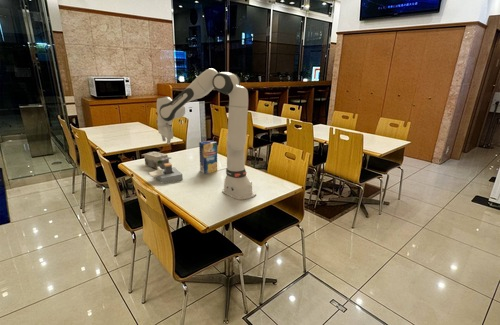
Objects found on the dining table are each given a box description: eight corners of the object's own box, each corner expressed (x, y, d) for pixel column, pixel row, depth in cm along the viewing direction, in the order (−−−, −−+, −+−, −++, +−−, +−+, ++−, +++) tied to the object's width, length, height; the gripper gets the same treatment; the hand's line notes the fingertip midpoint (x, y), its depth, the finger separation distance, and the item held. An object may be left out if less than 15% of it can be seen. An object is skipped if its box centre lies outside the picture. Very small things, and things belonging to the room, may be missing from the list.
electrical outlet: (161, 172, 201) (159, 158, 199) (140, 165, 219) (139, 153, 216) (175, 168, 210) (173, 155, 207) (154, 162, 228) (152, 150, 225)
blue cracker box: (217, 170, 209) (217, 142, 202) (204, 173, 202) (203, 144, 195) (212, 168, 214) (212, 140, 207) (199, 170, 208) (199, 142, 201)
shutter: (162, 174, 186) (162, 169, 185) (151, 176, 182) (151, 171, 181) (159, 171, 192) (159, 166, 190) (148, 173, 188) (148, 168, 187)
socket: (182, 179, 190) (182, 174, 189) (162, 183, 183) (161, 177, 182) (174, 172, 203) (174, 167, 202) (155, 175, 195) (154, 170, 194)
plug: (172, 176, 192) (171, 164, 189) (166, 177, 190) (165, 165, 187) (170, 175, 195) (169, 162, 192) (164, 176, 193) (164, 163, 190)
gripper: (175, 124, 174) (176, 145, 178) (164, 119, 190) (166, 138, 194) (165, 125, 171) (166, 146, 175) (155, 119, 187) (157, 139, 191)
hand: (166, 142), depth 185 cm, fingers open, 8 cm apart
